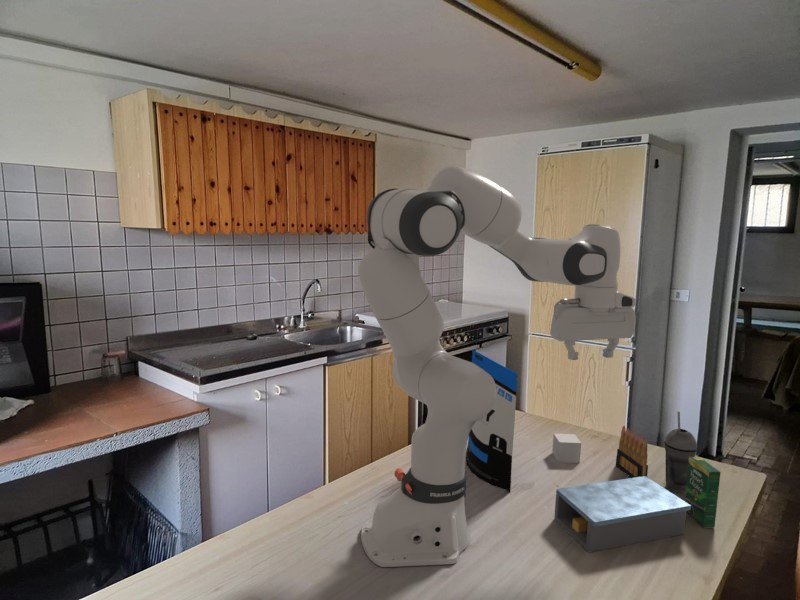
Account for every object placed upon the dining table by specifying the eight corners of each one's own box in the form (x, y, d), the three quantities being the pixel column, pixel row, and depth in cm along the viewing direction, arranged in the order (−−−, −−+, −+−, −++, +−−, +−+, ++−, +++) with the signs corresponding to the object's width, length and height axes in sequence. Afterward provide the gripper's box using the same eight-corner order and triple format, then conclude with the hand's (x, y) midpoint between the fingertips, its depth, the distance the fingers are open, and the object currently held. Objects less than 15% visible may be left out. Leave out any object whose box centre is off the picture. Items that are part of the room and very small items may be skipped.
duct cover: (594, 526, 100) (594, 522, 100) (556, 493, 113) (556, 489, 112) (690, 509, 107) (691, 505, 107) (644, 479, 120) (645, 476, 119)
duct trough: (588, 552, 102) (591, 524, 101) (554, 519, 113) (556, 494, 113) (683, 534, 109) (686, 507, 108) (642, 504, 120) (644, 480, 120)
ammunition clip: (646, 484, 130) (651, 440, 128) (640, 485, 130) (644, 440, 128) (621, 465, 140) (625, 423, 139) (615, 465, 140) (619, 424, 138)
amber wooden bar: (577, 532, 107) (578, 523, 107) (572, 527, 109) (572, 518, 109) (662, 517, 113) (663, 509, 113) (655, 512, 115) (656, 504, 115)
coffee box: (682, 507, 119) (688, 455, 118) (694, 508, 119) (700, 455, 118) (702, 528, 111) (708, 471, 110) (715, 528, 111) (722, 472, 110)
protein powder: (482, 448, 149) (487, 348, 144) (527, 490, 126) (534, 372, 122) (452, 452, 146) (457, 350, 142) (492, 495, 123) (499, 375, 119)
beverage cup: (691, 499, 123) (700, 420, 120) (658, 490, 127) (666, 414, 124) (693, 486, 129) (701, 411, 127) (661, 478, 133) (668, 405, 130)
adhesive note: (552, 453, 147) (553, 433, 146) (572, 453, 147) (574, 434, 146) (557, 462, 141) (559, 442, 140) (579, 463, 141) (581, 442, 140)
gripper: (563, 301, 108) (559, 364, 110) (642, 299, 114) (636, 359, 116) (546, 297, 114) (542, 357, 116) (622, 295, 120) (617, 352, 122)
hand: (590, 358), depth 116 cm, fingers open, 8 cm apart
